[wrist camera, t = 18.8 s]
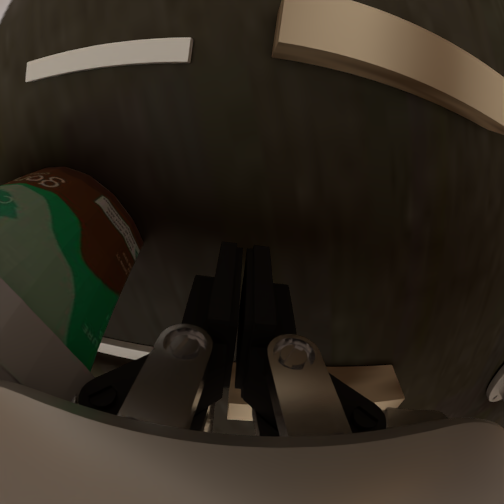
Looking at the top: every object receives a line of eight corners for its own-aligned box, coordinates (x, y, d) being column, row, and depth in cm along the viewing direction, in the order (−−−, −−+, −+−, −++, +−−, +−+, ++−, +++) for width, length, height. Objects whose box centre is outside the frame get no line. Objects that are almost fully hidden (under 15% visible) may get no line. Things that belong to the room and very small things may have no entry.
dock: (492, 94, 9) (533, 102, 6) (380, 381, 18) (391, 414, 16) (277, 13, 8) (286, -15, 5) (229, 380, 18) (227, 419, 15)
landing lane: (193, 40, 9) (191, 37, 8) (183, 361, 17) (181, 367, 16) (33, 62, 8) (27, 62, 8) (72, 339, 16) (69, 344, 16)
